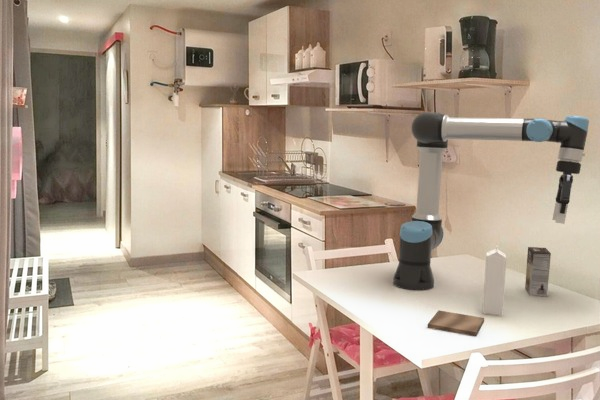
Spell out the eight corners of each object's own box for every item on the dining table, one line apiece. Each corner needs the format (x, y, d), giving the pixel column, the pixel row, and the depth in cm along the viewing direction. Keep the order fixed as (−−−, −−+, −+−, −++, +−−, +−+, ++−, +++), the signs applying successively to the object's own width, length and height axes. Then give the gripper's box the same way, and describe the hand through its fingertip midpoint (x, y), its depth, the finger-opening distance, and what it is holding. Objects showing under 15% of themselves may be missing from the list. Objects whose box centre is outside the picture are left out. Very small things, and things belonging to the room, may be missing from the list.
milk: (482, 313, 179) (486, 246, 176) (482, 308, 185) (486, 242, 182) (502, 316, 177) (507, 248, 174) (502, 310, 183) (506, 244, 180)
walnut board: (427, 327, 165) (427, 323, 165) (438, 313, 178) (438, 310, 178) (476, 336, 159) (476, 332, 159) (483, 321, 172) (484, 317, 171)
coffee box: (524, 288, 209) (527, 246, 206) (542, 289, 207) (545, 247, 205) (529, 295, 200) (532, 251, 198) (548, 297, 198) (551, 252, 196)
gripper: (586, 161, 179) (573, 226, 181) (577, 164, 203) (566, 221, 204) (561, 158, 182) (549, 222, 184) (554, 161, 205) (544, 217, 207)
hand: (558, 221), depth 194 cm, fingers open, 13 cm apart
